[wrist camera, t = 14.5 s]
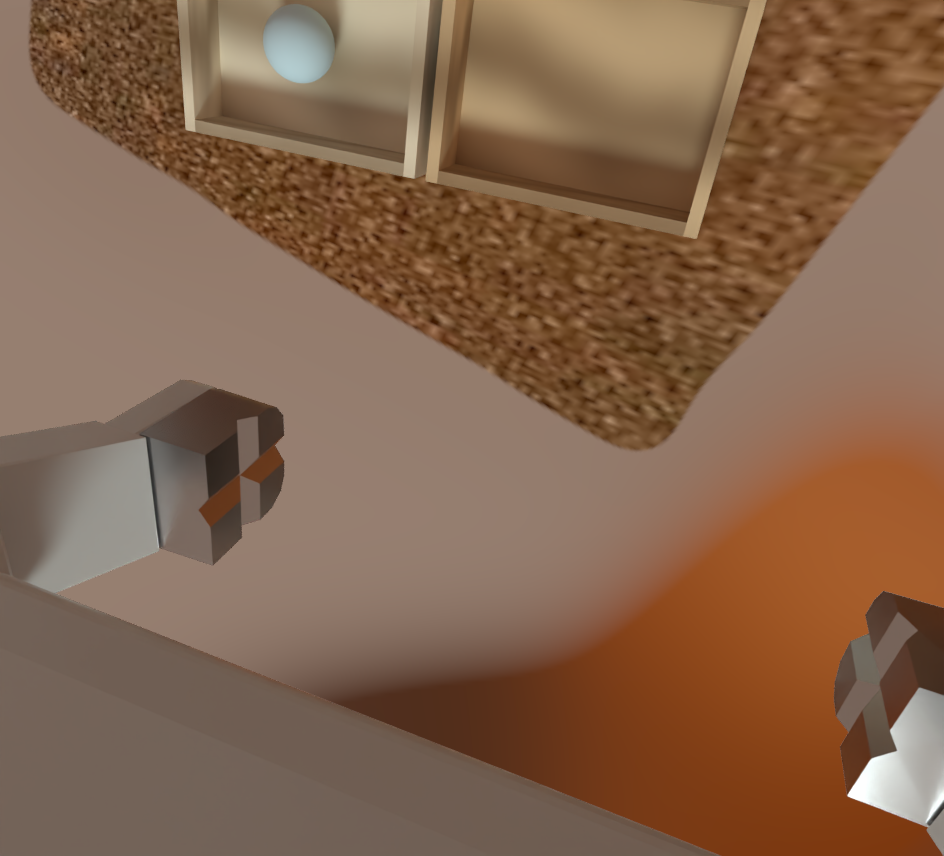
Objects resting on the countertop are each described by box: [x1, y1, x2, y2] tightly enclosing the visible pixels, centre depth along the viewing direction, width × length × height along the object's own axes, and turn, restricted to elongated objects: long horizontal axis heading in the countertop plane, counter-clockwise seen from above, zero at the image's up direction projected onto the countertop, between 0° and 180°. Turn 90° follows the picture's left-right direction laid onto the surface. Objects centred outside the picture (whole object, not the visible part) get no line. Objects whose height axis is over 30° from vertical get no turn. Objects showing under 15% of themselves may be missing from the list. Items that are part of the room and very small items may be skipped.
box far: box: [177, 0, 443, 179], centre depth 35 cm, size 10×13×3 cm
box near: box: [426, 0, 767, 239], centre depth 32 cm, size 10×13×3 cm
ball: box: [263, 4, 335, 83], centre depth 35 cm, size 3×3×3 cm
